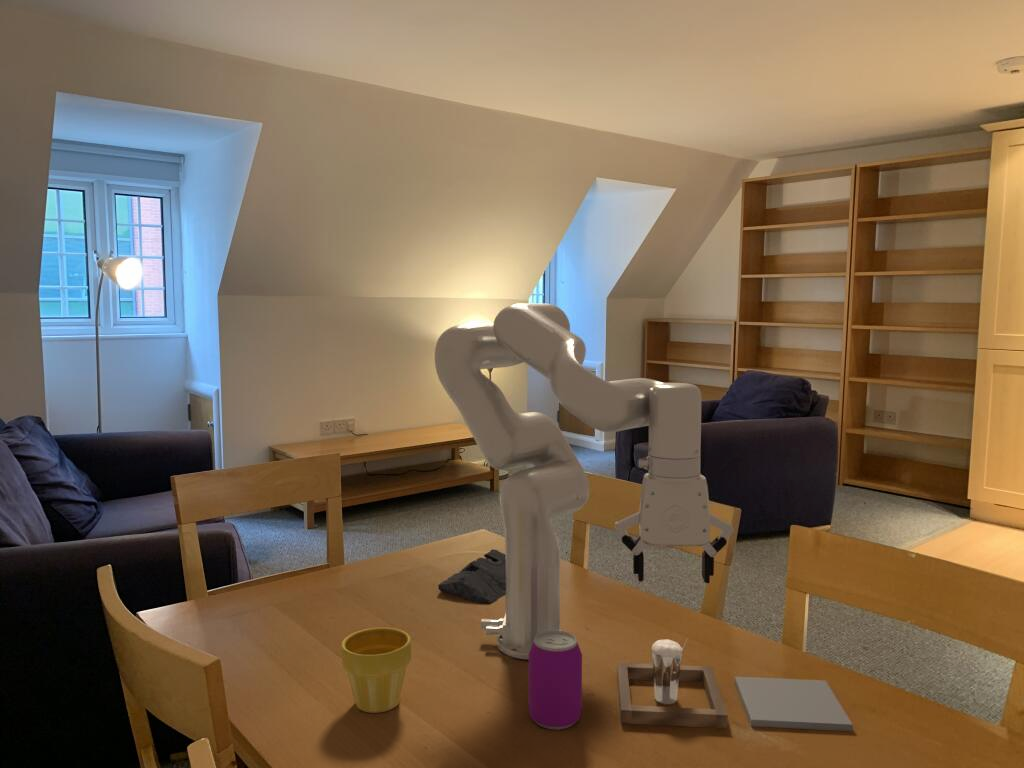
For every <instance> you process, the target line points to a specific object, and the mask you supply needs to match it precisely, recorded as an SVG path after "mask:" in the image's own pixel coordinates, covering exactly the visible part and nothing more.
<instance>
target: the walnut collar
mask: <svg viewBox="0 0 1024 768" xmlns="http://www.w3.org/2000/svg"><path fill="white" fill-rule="evenodd" d="M616 663H617V667H616V669H617V671H616V674H617V677H616V678H617V688H618V702H619V703H618V704H619V714H620V715H619V716H620V723H621V724H631V725H633V724H634V725H646V726H647V725H649V726H651V725H652V726H669V727H689V728H690V727H691V728H704V729H705V728H708V729H709V728H710V729H728V716H729V715H728V713H727V709H726V706H725V703H724V700H723V697H722V694H721V692H720V689H719V685H718V682H717V679H716V675H715V674H714V669H713V668H712V666H708V665H707V666H706V665H685V664H684V665H683V664H682V665H681V664H680V673H679V682H684V683H685V682H687V683H703V687H704V691H705V695H706V698H707V701H708V704H709V706H710V707H709V708H696V707H695V708H694V707H678V706H677V707H675V706H674V707H673V706H657V705H655V706H654V705H635V704H632V702H631V691H630V681H629V680H638V681H639V680H641V681H654V673H653V663H641V662H640V663H636V662H635V663H633V662H616Z"/></svg>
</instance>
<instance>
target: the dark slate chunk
mask: <svg viewBox="0 0 1024 768" xmlns="http://www.w3.org/2000/svg"><path fill="white" fill-rule="evenodd" d="M437 586H438V590H439V591H440V592H441V593H444V594H449V595H453V596H455V597H456V596H457V597H461V598H463V599H464V600H467V601H472V602H474V603H478V604H484V605H486V604H489V605H491V604H493V603H496V602H497V601H499V599H500V598H502V597H504V596H506V559H505V552H504V553H503V552H502V551H499V550H497V549H490V551H488V552H486V553H485V554H484V555H483V557H478V558H477V559H476V560H473V561H471V562H469V563H468V564H467V565H466V566H464V567H463V568H462V569H461V570H460V571H459V572H458V573H457V572H456V573H454V574H452V575H451V576H448V578H447V579H446V580H443V581H441V582H440V583H439V584H438V585H437Z"/></svg>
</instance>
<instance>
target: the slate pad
mask: <svg viewBox="0 0 1024 768" xmlns="http://www.w3.org/2000/svg"><path fill="white" fill-rule="evenodd" d="M734 684H735V688H736V690H737V693H738V696H739V698H740V700H741V704H742V706H743V708H744V712H745V715H746V717H747V720H748V722H749V724H750V727H758V728H759V727H760V728H761V727H762V728H778V729H779V728H780V729H782V728H783V729H784V728H785V729H798V730H800V729H801V730H817V731H819V730H820V731H821V730H822V731H840V732H841V731H842V732H853V726H854V725H853V722H852V721H851V719H850V718H849V716H848V715H847V713H846V711H845V709H844V708H843V706H842V705H841V704H840V701H839V700H838V699H837V697H836V695H835V693H834V691H833V690H832V688H831V687H830V685H829V684H828V682H827V681H826V680H822V679H821V680H819V679H800V678H799V679H798V678H797V679H796V678H775V677H756V676H755V677H753V676H752V677H751V676H734Z"/></svg>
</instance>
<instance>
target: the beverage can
mask: <svg viewBox="0 0 1024 768" xmlns="http://www.w3.org/2000/svg"><path fill="white" fill-rule="evenodd" d="M579 645H580V644H579V643H578V639H577V637H576V635H574V634H572V633H570V632H567V631H564V630H561V631H556V630H554V631H545V632H542V633H539V634H537V635H536V636H535V638H534V642H533V644H532V647H531V650H530V652H529V660H528V713H529V717H530V718H531V719H532V721H533V722H535V723H536V724H537V725H538V726H540V727H542V728H545V729H548V730H564V729H568V728H570V727H573V725H574V724H576V723H577V722H578V721H579V720H580V719H581V716H582V715H581V714H582V711H583V710H582V709H583V708H582V704H583V702H582V697H583V690H582V688H583V684H582V683H583V681H582V680H583V653H582V651H581V648H580V646H579Z"/></svg>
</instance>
